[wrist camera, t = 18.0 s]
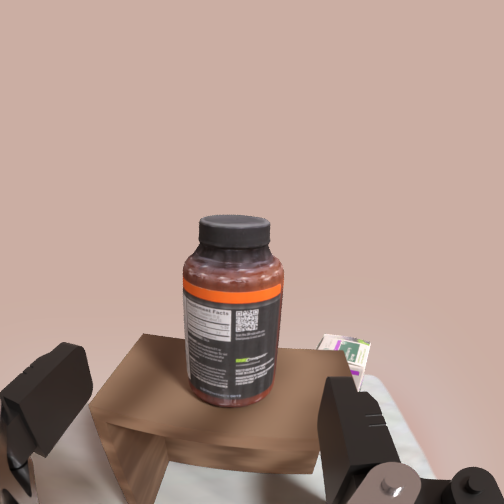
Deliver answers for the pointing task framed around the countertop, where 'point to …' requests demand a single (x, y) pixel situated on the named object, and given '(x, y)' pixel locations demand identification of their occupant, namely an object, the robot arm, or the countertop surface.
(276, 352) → the supplement bottle
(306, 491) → the countertop surface
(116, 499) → the countertop surface
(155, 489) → the walnut cubby
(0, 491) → the robot arm
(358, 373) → the syrup box
